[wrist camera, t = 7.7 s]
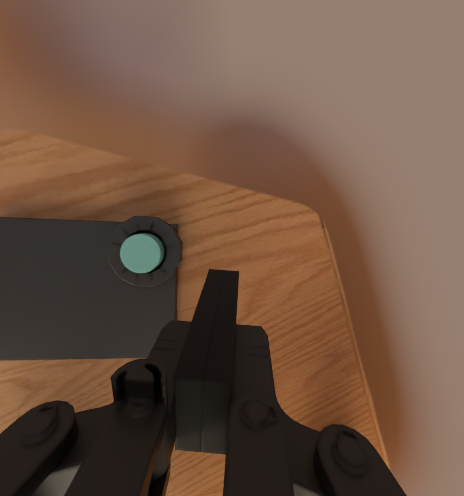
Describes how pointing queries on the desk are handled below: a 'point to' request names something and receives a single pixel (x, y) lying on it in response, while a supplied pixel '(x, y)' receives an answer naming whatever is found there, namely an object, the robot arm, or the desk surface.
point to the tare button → (142, 252)
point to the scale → (82, 289)
